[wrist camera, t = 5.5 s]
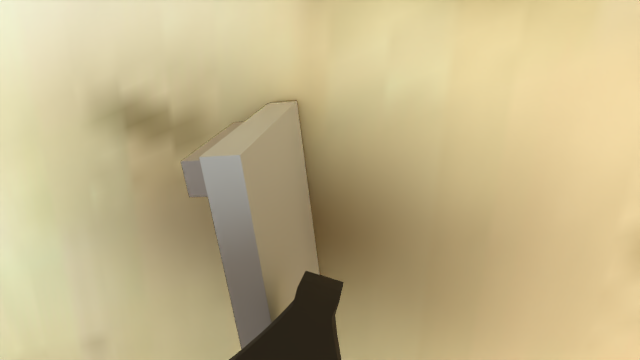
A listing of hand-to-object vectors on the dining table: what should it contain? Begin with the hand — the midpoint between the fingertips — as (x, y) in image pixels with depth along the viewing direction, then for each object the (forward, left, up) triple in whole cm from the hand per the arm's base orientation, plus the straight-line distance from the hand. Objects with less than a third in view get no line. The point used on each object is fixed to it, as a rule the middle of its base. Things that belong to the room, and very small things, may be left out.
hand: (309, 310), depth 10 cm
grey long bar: (-1, -3, -4) cm, 5 cm away
